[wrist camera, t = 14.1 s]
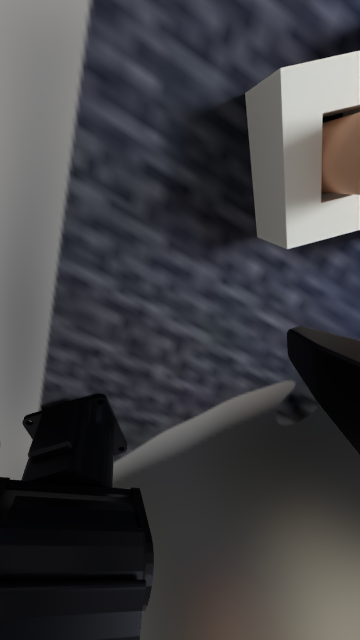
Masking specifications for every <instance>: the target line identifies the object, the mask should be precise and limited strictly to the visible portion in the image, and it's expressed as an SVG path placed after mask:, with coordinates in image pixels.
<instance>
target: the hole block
mask: <svg viewBox="0 0 360 640" xmlns="http://www.w3.org/2000/svg"><path fill="white" fill-rule="evenodd" d="M245 98H246V110H247V122H248V134H249V146H250V158H251V169H252V181H253V193H254V205H255V217H256V229H257V237H258V238H261V239H263V240H266V241H268V242H270V243H273V244H275V245H278V246H280V247H283V248H285V249H290V248H294V247H298V246H301V245H305V244H309V243H313V242H316V241H320V240H324V239H328V238H331V237H335V236H339V235H343V234H346V233H350V232H354V231H358V230H360V195H353V194H335V193H321V177H322V118H323V117H328V116H332V115H336V114H340V113H343V117H345V116H348V115H352V114H355V113H359V112H360V51H355V52H351V53H346V54H342V55H337V56H333V57H328V58H323V59H319V60H314V61H310V62H305V63H301V64H296V65H292V66H287V67H283V68H280V69H278V70H277V71H276V72H274V73H273V74H271V75H270V76H269V77H267V78H266V79H264V80H263V81H262V82H260V83H259V84H257V85H256V86H255V87H253V88H252V89H250V90H249V91H248V92H246V93H245Z"/></svg>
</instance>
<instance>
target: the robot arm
mask: <svg viewBox="0 0 360 640" xmlns="http://www.w3.org/2000/svg"><path fill="white" fill-rule="evenodd" d="M287 348H288V356H289V358H290V360H291V362H292V364H293V365H294V367H295V368H296V370H297V371H298V373H299V375H300V376H301V378H302V379H303V381H304V383H305V384H306V386H307V387H308V389H309V390H310V392H311V394H312V395H313V397H314V398H315V399H316V401H317V402H318V404H319V405H320V406H321V407H322V409H323V410H324V411H325V412H326V414H327V415H328V416H329V417H330V419H331V420H332V421H333V422H334V424H335V425H336V426H337V427H338V429H339V430H340V431H341V432H342V433H343V435H344V436H345V437H346V438H347V440H348V441H349V442H350V444H351V445H352V446H353V447H354V449H355V450H356V451H357V452H358V454H359V455H360V341H359V340H355V339H351V338H347V337H343V336H339V335H335V334H331V333H327V332H323V331H319V330H315V329H311V328H307V327H303V326H299V327H296V328H292V329H289V330H288V332H287ZM98 400H102V401H98ZM29 420H30V421H32V422H30V421H29ZM23 425H24V427H25V428H26V430H27V431H28V433H29V434H30V436H31V438H32V439H33V441H32V444H31V447H30V450H29V453H28V457H29V459H28V462H27V465H26V468H25V471H24V474H23V477H22V480H10V478H4V477H0V640H140V629H141V617H142V613H143V612H144V611H145V609H146V607H147V605H148V601H149V598H150V593H151V588H152V579H153V566H154V553H153V543H152V537H151V532H150V528H149V524H148V520H147V516H146V512H145V508H144V504H143V500H142V496H141V492H140V488H131V489H123V488H113V456H114V455H117V454H120V453H123V452H125V451H126V450H127V443H126V440H125V438H124V436H123V433H122V431H121V429H120V427H119V424H118V422H117V420H116V418H115V415H114V413H113V411H112V408H111V406H110V404H109V402H108V399H107V397H106V396H105V395H103V394H97V395H94V396H91V397H87V398H84V399H80V400H77V401H73V402H69V403H66V404H62V405H59V406H55V407H52V408H48V409H45V410H42V411H39V412H35V413H32V414H29V415H26V416H25V417H24V420H23Z"/></svg>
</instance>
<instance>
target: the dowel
mask: <svg viewBox="0 0 360 640" xmlns="http://www.w3.org/2000/svg"><path fill="white" fill-rule="evenodd" d="M321 193H335V194H353V195H360V112H359V113H355V114H352V115H348V116H345V117H342V118H338V119H335V120H331V121H328V122H324V123H322V177H321Z"/></svg>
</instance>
